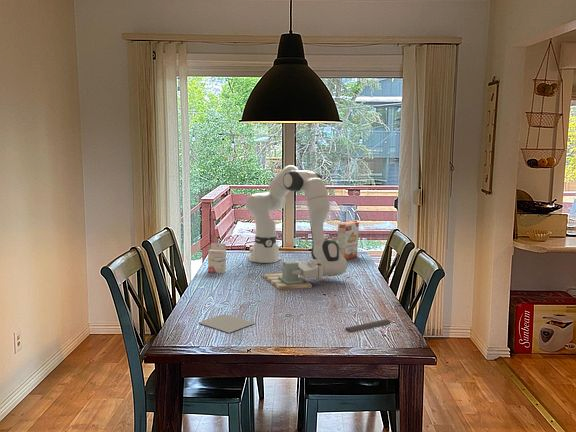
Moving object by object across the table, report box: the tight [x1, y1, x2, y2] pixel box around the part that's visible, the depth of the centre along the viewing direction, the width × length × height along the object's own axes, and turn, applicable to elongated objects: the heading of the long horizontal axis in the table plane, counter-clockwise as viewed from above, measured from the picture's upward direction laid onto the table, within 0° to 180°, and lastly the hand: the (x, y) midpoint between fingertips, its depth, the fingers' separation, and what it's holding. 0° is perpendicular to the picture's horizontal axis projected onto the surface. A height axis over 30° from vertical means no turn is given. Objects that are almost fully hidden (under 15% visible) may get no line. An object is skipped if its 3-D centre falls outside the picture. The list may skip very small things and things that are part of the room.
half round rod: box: [345, 318, 392, 333], centre depth 212 cm, size 4×20×2 cm, turn 121°
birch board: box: [262, 271, 313, 291], centre depth 274 cm, size 26×16×2 cm, turn 20°
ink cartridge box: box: [207, 242, 227, 274], centre depth 291 cm, size 9×5×15 cm, turn 84°
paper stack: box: [197, 313, 255, 334], centre depth 213 cm, size 23×25×1 cm
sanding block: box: [278, 260, 303, 285], centre depth 269 cm, size 12×8×9 cm, turn 20°
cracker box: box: [337, 220, 360, 260], centre depth 329 cm, size 14×6×21 cm, turn 141°
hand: (288, 270), depth 268 cm, fingers closed on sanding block, 6 cm apart
